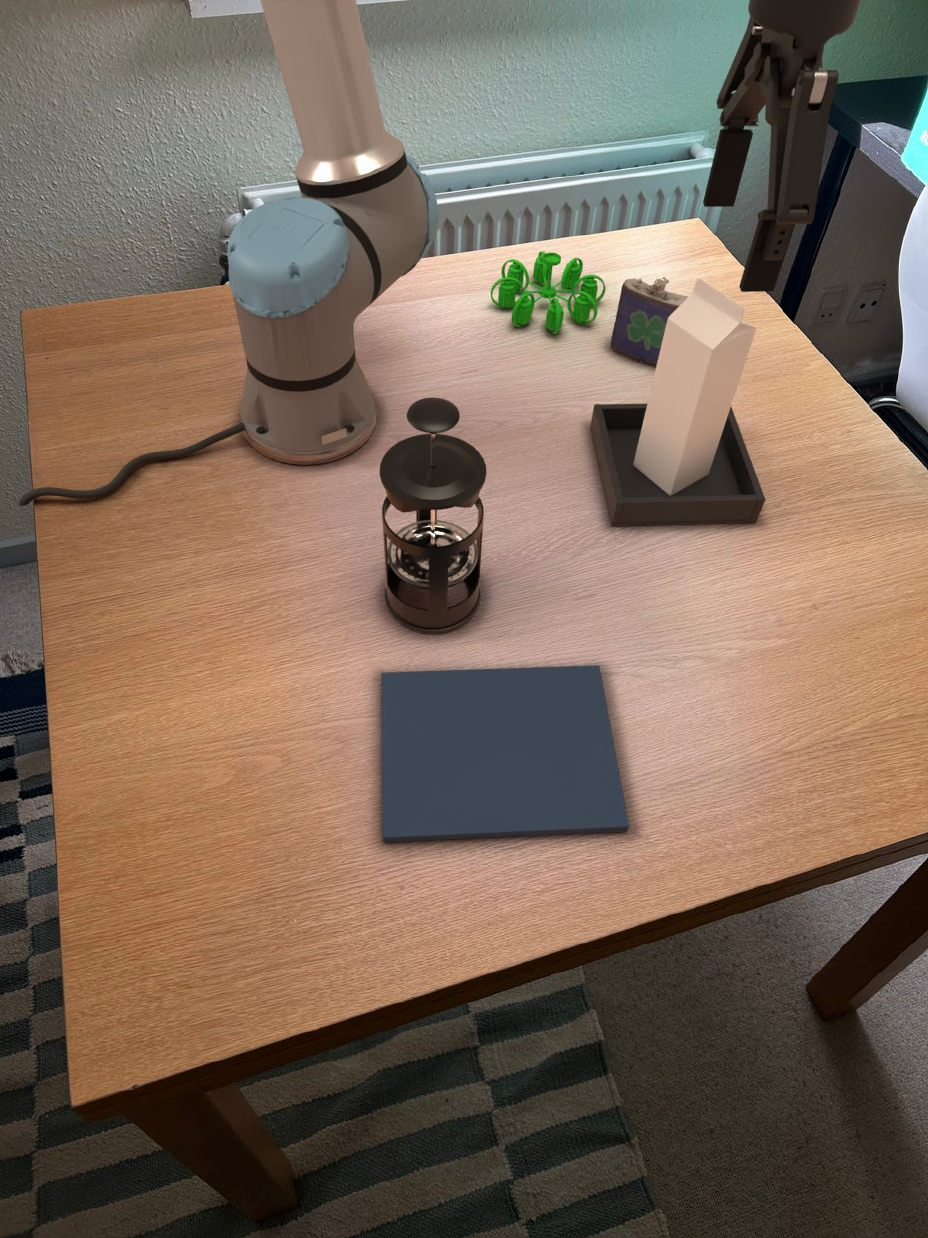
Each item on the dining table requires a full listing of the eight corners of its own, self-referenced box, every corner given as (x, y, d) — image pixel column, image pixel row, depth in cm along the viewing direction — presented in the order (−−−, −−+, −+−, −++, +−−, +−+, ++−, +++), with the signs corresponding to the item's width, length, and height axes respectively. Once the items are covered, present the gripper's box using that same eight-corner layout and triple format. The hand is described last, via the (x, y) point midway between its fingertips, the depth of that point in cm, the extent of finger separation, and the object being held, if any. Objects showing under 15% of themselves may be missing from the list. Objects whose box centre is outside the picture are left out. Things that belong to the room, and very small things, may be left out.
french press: (488, 635, 87) (503, 453, 69) (389, 644, 86) (378, 461, 68) (471, 544, 94) (480, 357, 76) (379, 551, 93) (367, 363, 75)
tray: (611, 526, 96) (616, 503, 94) (589, 428, 106) (594, 403, 103) (756, 523, 97) (765, 499, 94) (722, 425, 107) (729, 401, 104)
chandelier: (613, 338, 116) (622, 289, 111) (496, 342, 115) (500, 293, 110) (591, 272, 125) (599, 224, 120) (483, 275, 124) (485, 226, 119)
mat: (383, 843, 74) (382, 837, 73) (381, 678, 84) (381, 672, 83) (627, 831, 75) (629, 826, 74) (597, 671, 85) (599, 664, 84)
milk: (670, 497, 99) (721, 320, 81) (631, 465, 101) (673, 287, 84) (709, 474, 101) (767, 297, 83) (670, 443, 104) (719, 266, 86)
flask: (682, 362, 114) (703, 284, 105) (674, 375, 112) (694, 297, 104) (614, 339, 116) (629, 261, 108) (605, 351, 115) (619, 273, 106)
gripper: (937, 28, 56) (821, 329, 72) (815, -100, 71) (743, 173, 88) (817, 27, 55) (728, 330, 72) (720, -101, 70) (665, 174, 87)
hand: (736, 244), depth 80 cm, fingers open, 13 cm apart
